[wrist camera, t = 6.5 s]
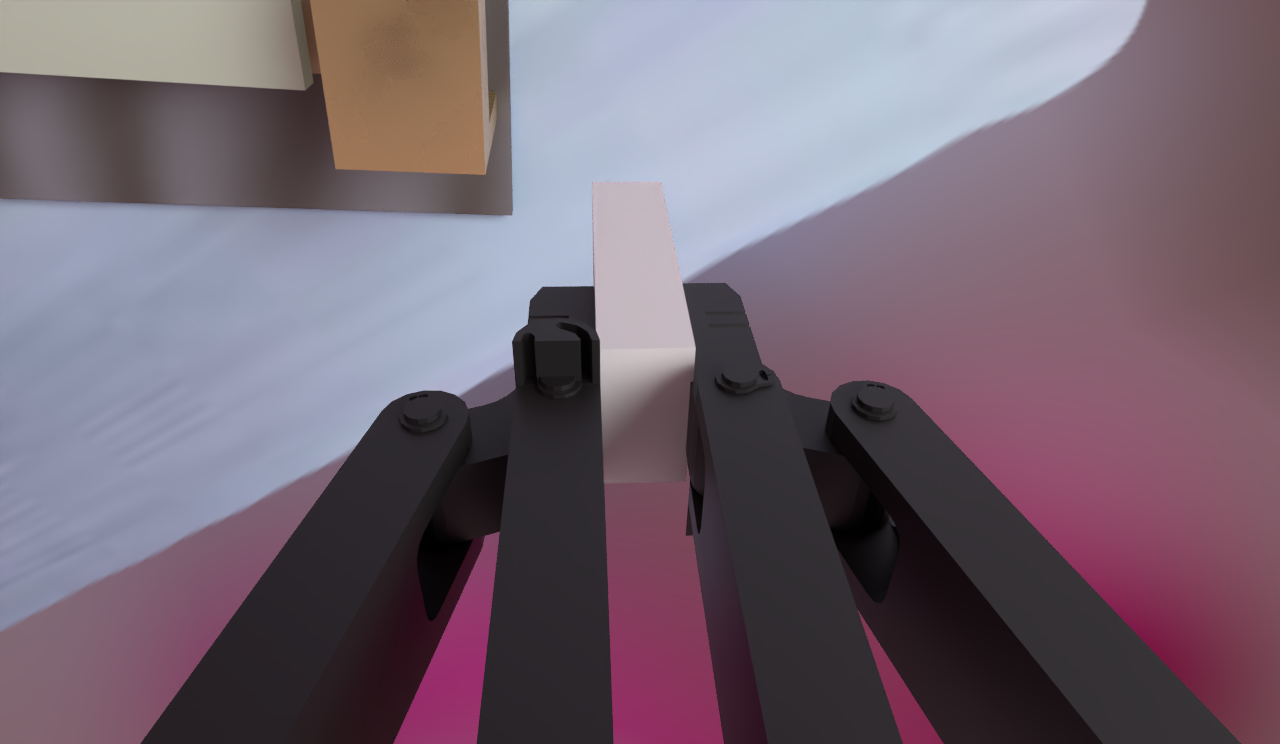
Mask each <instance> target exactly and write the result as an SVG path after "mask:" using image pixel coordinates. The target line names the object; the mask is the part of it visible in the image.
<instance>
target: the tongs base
mask: <svg viewBox="0 0 1280 744" xmlns="http://www.w3.org/2000/svg"><path fill="white" fill-rule="evenodd" d="M301 6H302V12H303V18H304V25H305V31H306V37H307V44H308V50H309V56H310V63H311V69H312V75H313V82H314V83H313V84H312V85H311V86H310V87H309V88H308V89H306V90H288V89H272V88H255V87H239V86H222V85H206V84H189V83H173V82H157V81H140V80H124V79H107V78H91V77H74V76H58V75H41V74H25V73H8V72H0V198H3V199H34V200H64V201H94V202H124V203H154V204H184V205H214V206H244V207H274V208H304V209H334V210H364V211H394V212H424V213H454V214H485V215H512V211H513V203H512V154H511V106H510V58H509V10H508V0H485V16H486V43H487V71H488V91H497V120H496V125H495V130H494V135H493V140H492V145H491V150H490V154H489V159H488V164H487V169H486V174H485V175H475V174H449V173H423V172H397V171H371V170H345V169H335V162H334V155H333V149H332V142H331V136H330V129H329V123H328V116H327V109H326V103H325V96H324V90H323V83H322V76H321V70H320V63H319V57H318V50H317V43H316V37H315V30H314V24H313V17H312V10H311V4H310V0H301Z"/></svg>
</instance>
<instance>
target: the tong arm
mask: <svg viewBox="0 0 1280 744" xmlns="http://www.w3.org/2000/svg"><path fill="white" fill-rule="evenodd" d="M0 72H8V73H25V74H41V75H58V76H74V77H91V78H107V79H124V80H140V81H157V82H173V83H189V84H206V85H222V86H239V87H255V88H272V89H288V90H306V89H308V88H309V87H310V86H311V85H312V84H313V83H314V82H313V75H312V69H311V63H310V56H309V50H308V44H307V37H306V31H305V25H304V18H303V12H302V6H301V0H0Z"/></svg>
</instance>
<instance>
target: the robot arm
mask: <svg viewBox="0 0 1280 744" xmlns="http://www.w3.org/2000/svg"><path fill="white" fill-rule="evenodd" d="M592 205H593V277H594V286H581V287H542V288H541V289H540V290H539V291H538V292H537V294H536V295H535V296H534V297H533V298H532V299H531V300H530V307H529V319H528V325H526V326H525V327H523V328H522V329H521V330H519V331H518V332H517V333H516V335H515V337H514V339H513V341H512V346H513V358H514V370H515V382H516V389H515V390H514V391H513V392H511V393H510V394H509V395H507V396H506V397H504V398H502V399H500V400H498V401H496V402H493V403H490V404H487V405H484V406H479V407H475V408H470V409H468V408H467V406H466V404H465V402H464V401H463V400H461V399H460V398H459V397H457V396H456V395H454V394H450V393H447V392H443V391H420V392H416V393H411V394H407V395H405V396H403V397H401V398H398V399H396V400H394V401H392V402H391V403H390V404H389V405H388V406H387V407H386V408H385V409H384V410H382V411H381V413H380V414H379V416H378V417H377V418H376V420H375V421H374V423H373V424H372V425H371V427H370V428H369V429H368V431H367V432H366V434H365V435H364V436H363V438H362V439H361V440H360V442H359V443H358V445H357V446H356V447H355V449H354V450H353V451H352V453H351V454H350V456H349V457H348V458H347V460H346V461H345V463H344V464H343V465H342V467H341V468H340V469H339V471H338V472H337V474H336V475H335V476H334V478H333V479H332V480H331V482H330V483H329V485H328V486H327V487H326V489H325V490H324V492H323V493H322V494H321V496H320V497H319V498H318V500H317V501H316V503H315V504H314V505H313V507H312V508H311V509H310V511H309V512H308V514H307V515H306V516H305V518H304V519H303V521H302V522H301V523H300V525H299V526H298V527H297V529H296V530H295V531H294V533H293V534H292V536H291V537H290V538H289V540H288V541H287V543H286V544H285V545H284V547H283V548H282V549H281V551H280V552H279V554H278V555H277V556H276V558H275V559H274V560H273V562H272V563H271V565H270V566H269V567H268V569H267V570H266V572H265V573H264V574H263V576H262V577H261V578H260V580H259V581H258V583H257V584H256V585H255V587H254V588H253V589H252V591H251V592H250V594H249V595H248V596H247V598H246V599H245V600H244V602H243V603H242V605H241V606H240V607H239V609H238V610H237V611H236V613H235V614H234V616H233V617H232V618H231V620H230V621H229V623H228V624H227V625H226V627H225V628H224V629H223V631H222V632H221V634H220V635H219V636H218V638H217V639H216V640H215V642H214V643H213V645H212V646H211V647H210V649H209V650H208V652H207V653H206V654H205V656H204V657H203V658H202V660H201V661H200V663H199V664H198V665H197V667H196V668H195V669H194V671H193V672H192V673H191V675H190V676H189V678H188V679H187V680H186V682H185V683H184V685H183V686H182V687H181V689H180V690H179V692H178V693H177V694H176V696H175V697H174V698H173V700H172V701H171V702H170V704H169V705H168V707H167V708H166V709H165V711H164V712H163V714H162V715H161V716H160V718H159V719H158V720H157V722H156V723H155V724H154V726H153V727H152V729H151V730H150V731H149V733H148V734H147V736H146V737H145V738H144V740H143V741H142V742H141V744H393V743H394V740H395V739H396V736H397V734H398V732H399V730H400V728H401V725H402V723H403V721H404V719H405V717H406V714H407V712H408V710H409V708H410V705H411V703H412V701H413V699H414V697H415V694H416V692H417V690H418V688H419V686H420V683H421V681H422V679H423V677H424V675H425V672H426V670H427V668H428V666H429V664H430V662H431V659H432V657H433V655H434V653H435V651H436V648H437V646H438V644H439V642H440V639H441V637H442V635H443V633H444V631H445V628H446V626H447V624H448V622H449V620H450V618H451V615H452V613H453V611H454V609H455V607H456V604H457V602H458V600H459V598H460V596H461V593H462V591H463V589H464V587H465V585H466V582H467V580H468V578H469V576H470V573H471V571H472V569H473V567H474V565H475V562H476V560H477V558H478V556H479V554H480V552H481V549H482V547H483V542H484V537H485V535H489V534H492V533H496V532H499V531H500V535H499V545H498V554H497V563H496V572H495V582H494V592H493V599H492V600H493V601H492V609H491V618H490V627H489V637H488V645H487V654H486V664H485V673H484V682H483V691H482V700H481V709H480V719H479V728H478V737H477V744H613V717H612V690H611V663H610V635H609V609H608V581H607V580H608V579H607V553H606V524H605V497H604V483H640V482H677V481H678V482H680V481H686V475H687V463H688V469H689V475H690V489H689V501H688V516H687V527H686V535H693V537H694V544H695V551H696V558H697V565H698V571H699V577H700V585H701V592H702V598H703V605H704V611H705V618H706V625H707V632H708V638H709V646H710V653H711V659H712V666H713V672H714V679H715V686H716V693H717V699H718V706H719V713H720V719H721V727H722V733H723V740H724V744H903V743H902V740H901V737H900V734H899V731H898V728H897V725H896V722H895V719H894V716H893V713H892V710H891V707H890V704H889V701H888V699H887V696H886V692H885V690H884V687H883V684H882V681H881V678H880V675H879V672H878V669H877V666H876V663H875V660H874V657H873V654H872V651H871V648H870V645H869V642H868V639H867V636H866V633H865V630H864V628H863V625H862V622H861V619H860V616H859V613H858V611H859V612H860V614H861V615H862V617H863V618H864V620H865V621H866V623H867V624H868V626H869V628H870V629H871V631H872V632H873V634H874V635H875V637H876V639H877V640H878V642H879V643H880V645H881V646H882V648H883V649H884V651H885V653H886V654H887V656H888V657H889V659H890V661H891V662H892V664H893V665H894V667H895V668H896V670H897V671H898V673H899V674H900V676H901V678H902V679H903V681H904V682H905V684H906V686H907V687H908V688H909V690H910V692H911V693H912V695H913V696H914V698H915V700H916V701H917V703H918V704H919V706H920V707H921V709H922V710H923V712H924V714H925V715H926V717H927V718H928V720H929V721H930V723H931V724H932V726H933V728H934V729H935V731H936V732H937V734H938V735H939V737H940V739H941V740H942V741H943V743H944V744H1241V743H1240V742H1239V741H1238V740H1237V739H1236V738H1235V737H1234V736H1233V735H1232V734H1231V733H1230V732H1229V731H1228V729H1227V728H1226V727H1225V726H1224V725H1223V724H1222V723H1221V722H1220V721H1219V720H1218V719H1217V718H1216V717H1215V716H1214V715H1213V714H1212V713H1211V712H1210V711H1209V710H1208V709H1207V708H1206V706H1205V705H1204V704H1203V703H1202V702H1201V701H1200V700H1199V699H1198V698H1197V697H1196V696H1195V695H1194V694H1193V693H1192V692H1191V691H1190V690H1189V689H1188V688H1187V687H1186V686H1185V684H1184V683H1183V682H1182V681H1181V680H1180V679H1179V678H1178V677H1177V676H1176V675H1175V674H1174V673H1173V672H1172V671H1171V670H1170V669H1169V668H1168V667H1167V666H1166V665H1165V664H1164V663H1163V661H1162V660H1161V659H1160V658H1159V657H1158V656H1157V655H1156V654H1155V653H1154V652H1153V651H1152V650H1151V649H1150V648H1149V647H1148V646H1147V645H1146V644H1145V643H1144V642H1143V640H1142V639H1140V637H1139V636H1138V635H1137V634H1136V633H1135V632H1134V631H1133V630H1132V629H1131V628H1130V627H1129V626H1128V625H1127V624H1126V623H1125V622H1124V621H1123V619H1122V618H1121V617H1120V616H1119V615H1118V614H1117V613H1116V612H1115V611H1114V610H1113V609H1112V608H1111V607H1110V606H1109V605H1108V604H1107V603H1106V602H1105V601H1104V600H1103V599H1102V597H1101V596H1099V594H1098V593H1097V592H1096V591H1095V590H1094V589H1093V588H1092V587H1091V586H1090V585H1089V584H1088V583H1087V582H1086V581H1085V580H1084V579H1083V578H1082V577H1081V575H1080V574H1079V573H1078V572H1077V571H1076V570H1075V569H1074V568H1073V567H1072V566H1071V565H1070V564H1069V563H1068V562H1067V561H1066V560H1065V559H1064V558H1063V557H1062V556H1061V555H1060V554H1059V552H1058V551H1057V550H1056V549H1055V548H1054V547H1053V546H1052V545H1051V544H1050V543H1049V542H1048V541H1047V540H1046V539H1045V538H1044V537H1043V536H1042V535H1041V534H1040V533H1039V532H1038V531H1037V529H1036V528H1035V527H1034V526H1033V525H1032V524H1031V523H1030V522H1029V521H1028V520H1027V519H1026V518H1025V517H1024V516H1023V515H1022V514H1021V513H1020V512H1019V511H1018V510H1017V508H1016V507H1015V506H1013V504H1012V503H1011V502H1010V501H1009V500H1008V499H1007V498H1006V497H1005V496H1004V495H1003V494H1002V493H1001V492H1000V491H999V490H998V489H997V488H996V486H995V485H994V484H993V483H992V482H991V481H990V480H989V479H988V478H987V477H986V476H985V475H984V474H983V473H982V472H981V471H980V470H979V469H978V468H977V467H976V466H975V464H974V463H972V461H970V459H969V458H968V457H967V456H966V455H965V454H964V453H963V452H962V451H961V450H960V449H959V448H958V447H957V446H956V445H955V444H954V443H953V441H952V440H951V439H950V438H949V437H948V436H947V435H946V434H945V433H944V432H943V431H942V430H941V429H940V428H939V427H938V426H937V425H936V424H935V423H934V422H933V420H932V419H931V418H930V417H929V416H928V415H926V413H925V412H924V411H923V410H922V409H921V408H920V407H919V406H918V405H917V404H916V403H915V402H914V401H913V400H912V399H911V398H910V397H909V396H907V395H906V394H905V393H903V392H902V391H901V390H899V389H896V388H894V387H892V386H889V385H887V384H884V383H879V382H874V381H852V382H849V383H846V384H843V385H840V386H839V387H838V388H837V389H836V390H835V391H834V392H833V393H832V396H831V401H825V400H819V399H814V398H809V397H804V396H801V395H797V394H794V393H791V392H789V391H787V390H784V389H783V388H782V385H781V383H780V380H779V379H778V377H777V376H776V374H775V373H774V371H772V370H771V369H769V368H768V367H766V366H764V365H763V364H762V362H761V359H760V356H759V353H758V350H757V347H756V343H755V340H754V337H753V334H752V331H751V328H750V327H749V322H748V319H747V315H746V314H745V309H744V306H743V303H742V300H741V297H740V296H739V295H738V294H737V293H736V292H735V291H734V290H733V289H731V288H730V287H729V286H728V285H727V284H726V283H690V284H689V283H688V284H682V280H681V275H680V270H679V265H678V261H677V256H676V251H675V246H674V241H673V237H672V232H671V227H670V222H669V217H668V213H667V208H666V203H665V198H664V194H663V189H662V184H661V182H592ZM857 609H858V610H857Z"/></svg>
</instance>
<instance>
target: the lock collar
mask: <svg viewBox="0 0 1280 744" xmlns="http://www.w3.org/2000/svg"><path fill="white" fill-rule="evenodd" d="M310 4H311V10H312V17H313V24H314V30H315V37H316V43H317V50H318V57H319V63H320V70H321V76H322V83H323V90H324V96H325V103H326V109H327V116H328V123H329V129H330V136H331V142H332V149H333V155H334V162H335V169H345V170H371V171H397V172H423V173H449V174H475V175H485V174H486V169H487V164H488V159H489V154H490V150H491V145H492V140H493V135H494V130H495V125H496V120H497V91H488V71H487V43H486V16H485V0H310Z"/></svg>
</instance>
